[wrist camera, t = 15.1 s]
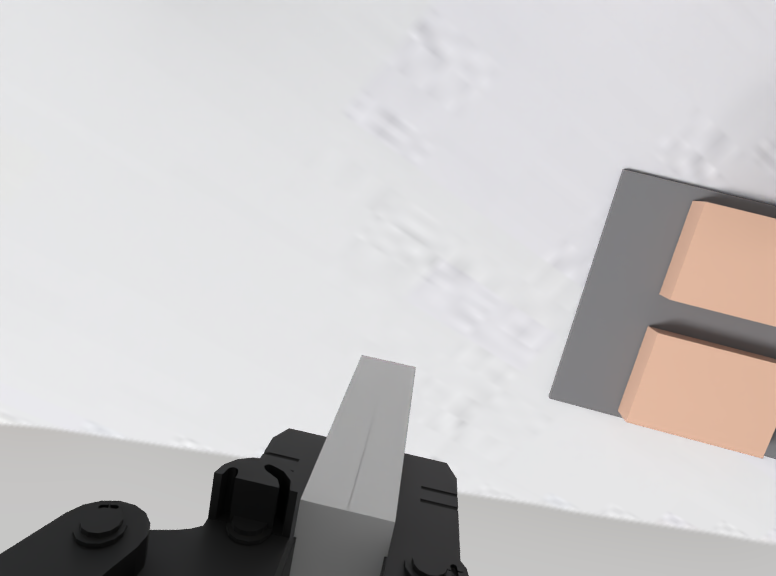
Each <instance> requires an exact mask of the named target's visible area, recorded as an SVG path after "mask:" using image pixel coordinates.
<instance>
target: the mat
mask: <svg viewBox="0 0 776 576" xmlns="http://www.w3.org/2000/svg"><path fill="white" fill-rule="evenodd" d="M692 201H704V202H709V203H713V204H717V205H722V206H726V207H730V208H734V209H738V210H742V211H746V212H750V213H754V214H759V215H763V216H767V217H771V218H775V219H776V206H774V205H770V204H765V203H761V202H757V201H753V200H749V199H745V198H741V197H737V196H732V195H728V194H724V193H720V192H716V191H712V190H708V189H703V188H699V187H695V186H691V185H687V184H683V183H679V182H674V181H670V180H666V179H662V178H658V177H654V176H650V175H645V174H641V173H637V172H633V171H629V170H625V169H624V170H622V173H621V176H620V179H619V183H618V186H617V189H616V192H615V195H614V198H613V201H612V204H611V207H610V210H609V213H608V216H607V219H606V222H605V226H604V229H603V232H602V235H601V238H600V241H599V244H598V247H597V250H596V253H595V256H594V259H593V262H592V265H591V268H590V272H589V275H588V278H587V281H586V284H585V287H584V290H583V293H582V296H581V299H580V302H579V305H578V308H577V311H576V315H575V318H574V321H573V324H572V327H571V330H570V333H569V336H568V339H567V342H566V345H565V348H564V351H563V354H562V357H561V361H560V364H559V367H558V370H557V373H556V376H555V379H554V382H553V385H552V388H551V391H550V394H549V398H550V399H554V400H557V401H561V402H565V403H569V404H572V405H576V406H580V407H584V408H587V409H591V410H595V411H599V412H602V413H606V414H610V415H613V416H617V417H621V418H623V417H622V416H621V415H620V413H619V412H618V409H619V406H620V403H621V400H622V397H623V395H624V392H625V389H626V386H627V383H628V381H629V378H630V375H631V372H632V369H633V367H634V364H635V361H636V358H637V355H638V353H639V350H640V347H641V344H642V341H643V339H644V336H645V333H646V330H647V327H648V326H650V327H654V328H657V329H661V330H665V331H669V332H673V333H677V334H681V335H685V336H689V337H692V338H696V339H700V340H704V341H708V342H712V343H716V344H720V345H724V346H727V347H731V348H735V349H739V350H743V351H747V352H751V353H755V354H759V355H762V356H766V357H770V358H774V359H776V327H775V326H771V325H767V324H763V323H759V322H755V321H751V320H747V319H743V318H740V317H736V316H732V315H728V314H724V313H720V312H716V311H712V310H708V309H704V308H700V307H696V306H692V305H688V304H684V303H680V302H677V301H673V300H669V299H667V298H665V297H664V296H662V295H660V294H659V293H660V291H661V288H662V285H663V282H664V279H665V277H666V274H667V271H668V268H669V265H670V263H671V260H672V257H673V254H674V251H675V249H676V246H677V243H678V240H679V237H680V235H681V232H682V229H683V226H684V223H685V220H686V218H687V215H688V212H689V209H690V206H691V204H692ZM764 456H767V457H771V458H774V459H776V428H775V430H774V433H773V435H772V438H771V440H770V442H769V445H768V447H767V449H766V452H765V454H764Z"/></svg>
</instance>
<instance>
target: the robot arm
mask: <svg viewBox="0 0 776 576" xmlns="http://www.w3.org/2000/svg"><path fill="white" fill-rule="evenodd" d="M415 369H416V367H413V366H408V365H404V364H399V363H395V362H390V361H386V360H381V359H377V358H373V357H368V356H364V355H362V356H361V358H360V361H359V363H358V365H357V368H356V370H355V372H354V375H353V377H352V379H351V382H350V384H349V386H348V389H347V391H346V393H345V396H344V398H343V401H342V403H341V405H340V408H339V410H338V412H337V415H336V417H335V419H334V422H333V424H332V426H331V429H330V431H329V433H328V436H327V437H324V436H320V435H316V434H311V433H307V432H303V431H298V430H294V429H290V428H289V429H287V430H286V431H284V432H282V433H280V434H279V435H277V436H275V437H273V439H272V440H271V442H270V443H269V445H268V447H267V448H266V450H265V452H264V454H263V455H262V456H261V458H246V459H237V460H234V461H232V462H229V463H227V464H224V465H223V466H221V467H220V468H219V469H218V470H217V471H216V472H215V473H214V479H213V487H212V493H211V501H210V508H209V515H208V519H207V521H206V523H205V524H204V525H203V526H200V527H196V528H192V529H183V530H150V522H149V519H148V517H147V515H146V513H145V512H144V511H143V510H141V509H140V508H138V507H137V506H136V505H133V504H129V503H126V502H122V501H99V502H94V503H89V504H85V505H82V506H80V507H77V508H75V509H73V510H71V511H69V512H67V513H65V514H63V515H62V516H60V517H59V518H57V519H55V520H54V521H52V522H51V523H49V524H47V525H46V526H44V527H43V528H41V529H39V530H38V531H36V532H35V533H33V534H32V535H30V536H28V537H27V538H25V539H23V540H22V541H20V542H19V543H17V544H16V545H14V546H13V547H11V548H9V549H7V550H6V551H4V552H3V553H1V554H0V576H469V575H468V572H467V569H466V567H465V566H464V565H463V564H462V562H461V561H460V543H459V523H458V522H459V521H458V511H457V509H458V498H457V478H456V477H455V475H454V474H453V472H452V471H451V469H450V468H449V466H448V464H447V463H444V462H440V461H435V460H431V459H427V458H423V457H418V456H414V455H410V454H405V453H404V452H405V445H406V437H407V429H408V422H409V414H410V407H411V399H412V392H413V384H414V377H415Z"/></svg>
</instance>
